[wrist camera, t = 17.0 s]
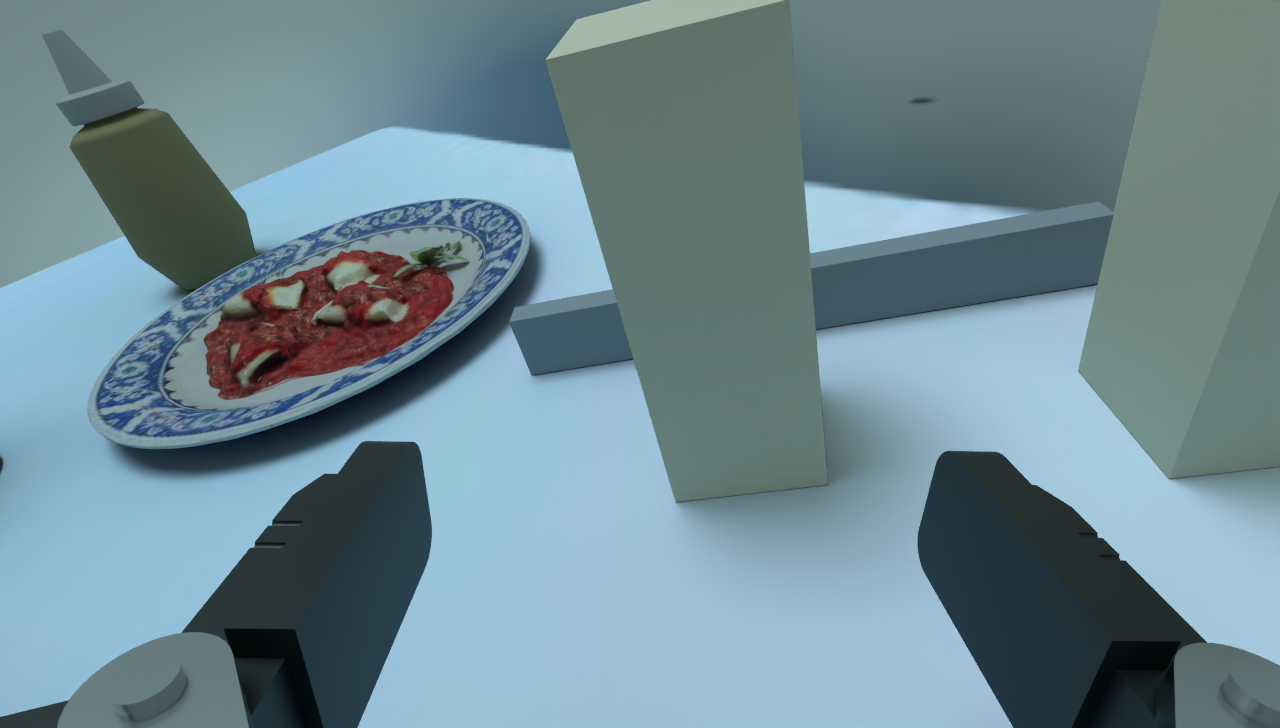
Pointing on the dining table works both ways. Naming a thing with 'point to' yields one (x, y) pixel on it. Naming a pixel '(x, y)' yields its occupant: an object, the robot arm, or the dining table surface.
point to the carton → (703, 231)
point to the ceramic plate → (309, 323)
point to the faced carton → (1198, 248)
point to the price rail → (866, 282)
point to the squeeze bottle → (150, 175)
